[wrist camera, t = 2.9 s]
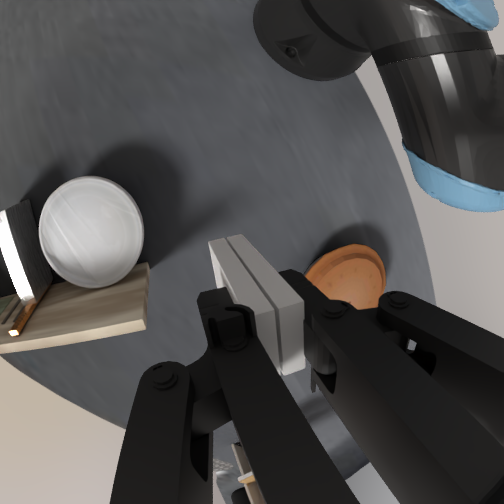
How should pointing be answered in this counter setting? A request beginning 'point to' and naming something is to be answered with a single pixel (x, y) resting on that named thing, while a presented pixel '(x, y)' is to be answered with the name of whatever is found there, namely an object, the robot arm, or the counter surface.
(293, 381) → the counter surface
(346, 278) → the pie
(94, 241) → the ramekin
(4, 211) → the gauge sled
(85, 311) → the scale board
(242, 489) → the coffee jar
